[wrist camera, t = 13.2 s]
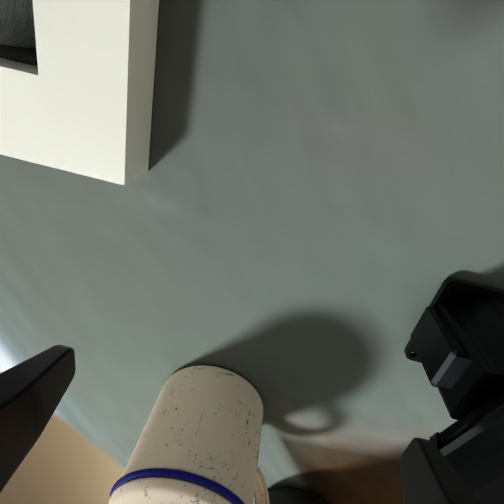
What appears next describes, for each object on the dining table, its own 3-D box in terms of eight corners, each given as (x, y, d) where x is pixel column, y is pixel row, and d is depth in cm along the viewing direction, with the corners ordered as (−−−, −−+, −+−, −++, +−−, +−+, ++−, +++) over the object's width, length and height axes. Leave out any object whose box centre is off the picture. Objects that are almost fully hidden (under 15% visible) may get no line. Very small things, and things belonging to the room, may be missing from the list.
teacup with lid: (139, 390, 29) (49, 561, 19) (211, 342, 25) (149, 521, 15) (235, 465, 32) (203, 648, 22) (312, 431, 28) (317, 632, 18)
